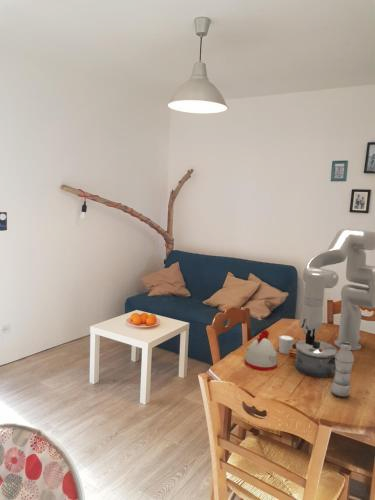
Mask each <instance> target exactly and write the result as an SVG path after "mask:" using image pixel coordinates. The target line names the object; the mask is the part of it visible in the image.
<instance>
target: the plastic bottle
mask: <svg viewBox="0 0 375 500" xmlns="http://www.w3.org/2000/svg"><path fill="white" fill-rule="evenodd" d="M336 352H337V353H336V355H335V367H334V374H333V378H332V379H333V380H332V382H331V386H330V387H331V389H330V390H331V392H332V394H333V395H335V396H336V397H341V398H342V397H343V398H345V397H348V396H349V394H351V372H352V368H353V365H354V361H355V358H354V355H353V353H352V350H351V344H350V343H347V342H341V343H340V347H339V350H337V351H336Z"/></svg>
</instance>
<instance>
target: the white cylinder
mask: <svg viewBox="0 0 375 500" xmlns="http://www.w3.org/2000/svg"><path fill="white" fill-rule="evenodd" d="M294 340H295V339H294V337H293V336H291V335H285V334H283V335H279V336H278V352H279V353H281V354H283V355H290V354H289V350H290V349H292V350H293V348H292V345H293V344H294Z"/></svg>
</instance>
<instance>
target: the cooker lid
mask: <svg viewBox="0 0 375 500" xmlns="http://www.w3.org/2000/svg"><path fill="white" fill-rule="evenodd" d="M305 341H306V339H301V340H298V341H296V348H297V349H298V350H299V351H301V352H302V353H305V354H308V355H311V356H316V357H332V356H334V355H336V352H338V350H337V347H335V346H333V345H332V344H330V343H327V342H325V341H321V340H316V339H315V341H314V345H309V344H306V343H305Z"/></svg>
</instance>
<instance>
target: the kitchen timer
mask: <svg viewBox="0 0 375 500" xmlns="http://www.w3.org/2000/svg"><path fill="white" fill-rule="evenodd" d="M269 335H270V332H269V330H267V329H265V330H263V331H261V332H260V334H258V337H257V338H256V339H254V340H253V342H252V343H250V345H249V346H247V347H246V353H245V357H244V364H245V363H246V364H247V365H248V366H249V367H248V366H247V365H246V364H245V365H246V366H247V367H248V368H250V367H251V369H253V370H256V371H263V372H268V371H270V372H271V371H274V370H275V369H277V367H278V351H276V350H275V348H274V346H273V343H272V342H271V341H270V340H269Z"/></svg>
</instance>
